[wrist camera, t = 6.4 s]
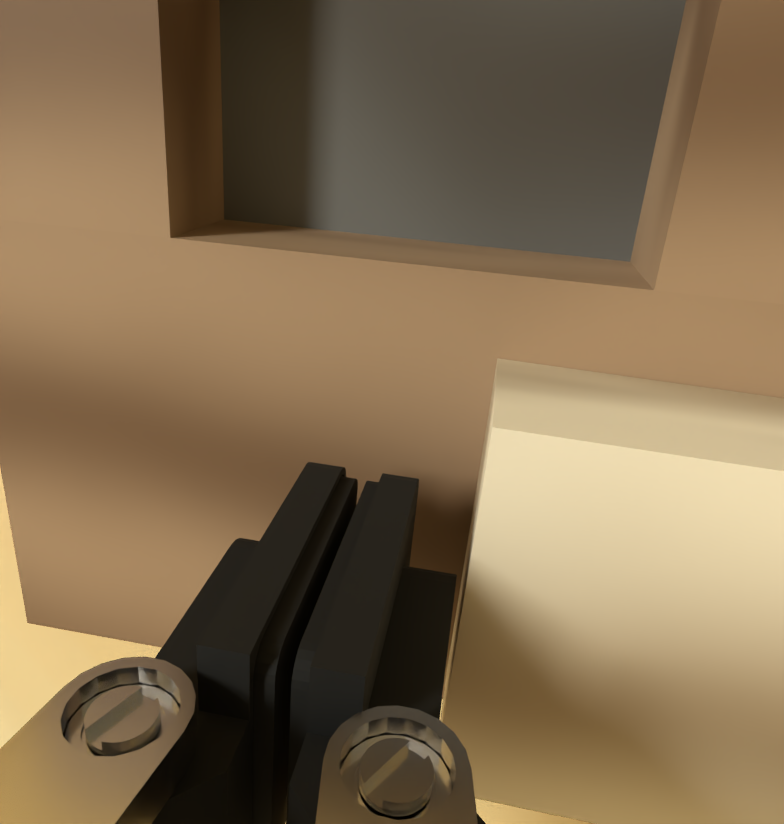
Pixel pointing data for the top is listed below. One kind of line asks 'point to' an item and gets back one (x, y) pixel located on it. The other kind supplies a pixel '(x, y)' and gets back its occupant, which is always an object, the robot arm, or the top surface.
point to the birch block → (624, 602)
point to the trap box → (351, 255)
